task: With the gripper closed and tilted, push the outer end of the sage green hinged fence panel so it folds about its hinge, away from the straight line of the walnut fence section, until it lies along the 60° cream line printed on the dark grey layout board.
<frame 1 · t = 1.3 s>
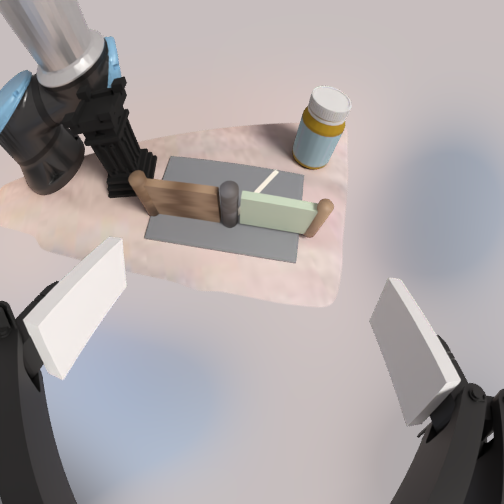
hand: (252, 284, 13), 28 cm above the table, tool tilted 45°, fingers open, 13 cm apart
walnut fence section: (230, 221, 44), resting on layout board
layout board: (227, 204, 45), on the table
fence panel: (283, 213, 38), point 6 cm above the table, hinge at 0.0°
chess piece: (133, 177, 46), on the table
bottle: (309, 156, 49), on the table
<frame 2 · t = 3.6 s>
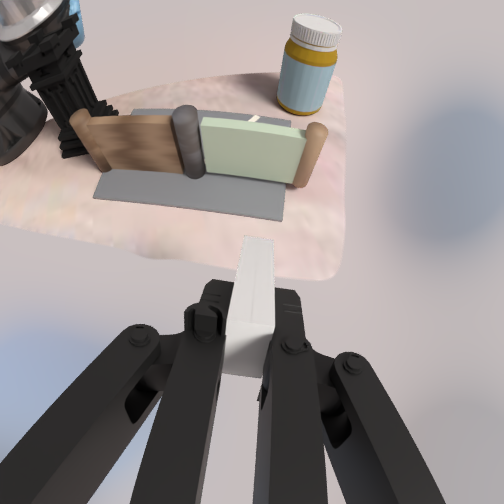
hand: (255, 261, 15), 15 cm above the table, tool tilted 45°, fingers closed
walnut fence section: (196, 173, 33), resting on layout board
layout board: (194, 153, 34), on the table
fence panel: (260, 150, 27), point 6 cm above the table, hinge at 0.0°
chess piece: (91, 135, 35), on the table
bottle: (298, 103, 38), on the table
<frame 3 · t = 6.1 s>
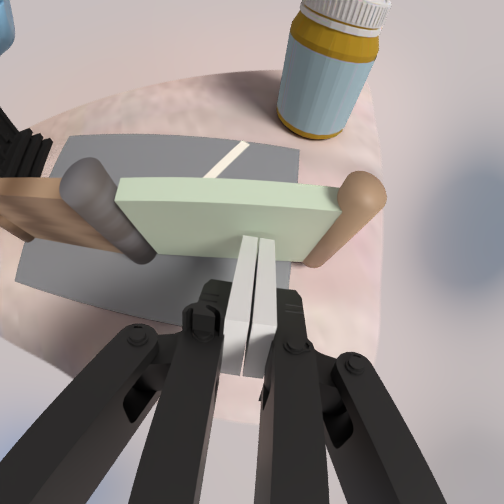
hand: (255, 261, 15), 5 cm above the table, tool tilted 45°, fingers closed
walnut fence section: (144, 250, 20), resting on layout board
layout board: (142, 213, 21), on the table
fence panel: (245, 224, 15), point 6 cm above the table, hinge at 5.4°, touching gripper
chess piece: (20, 177, 22), on the table
bottle: (309, 118, 25), on the table
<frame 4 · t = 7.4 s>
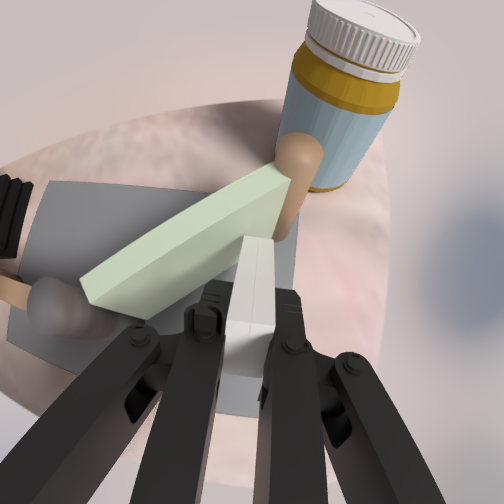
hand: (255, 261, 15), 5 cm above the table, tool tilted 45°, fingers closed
walnut fence section: (132, 325, 18), resting on layout board
layout board: (127, 283, 19), on the table
fence panel: (209, 243, 14), point 6 cm above the table, hinge at 42.4°, touching gripper
chess piece: (3, 223, 20), on the table
bottle: (312, 163, 24), on the table
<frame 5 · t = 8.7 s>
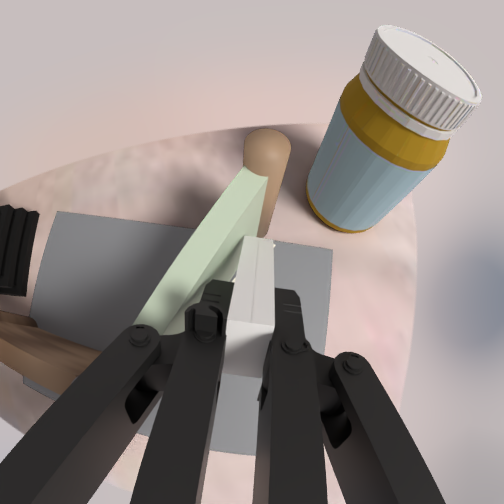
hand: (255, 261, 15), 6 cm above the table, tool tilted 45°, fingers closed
walnut fence section: (162, 375, 17), resting on layout board
layout board: (155, 332, 18), on the table
fence panel: (210, 267, 14), point 6 cm above the table, hinge at 67.0°, touching gripper
chess piece: (8, 255, 19), on the table
bottle: (342, 199, 23), on the table
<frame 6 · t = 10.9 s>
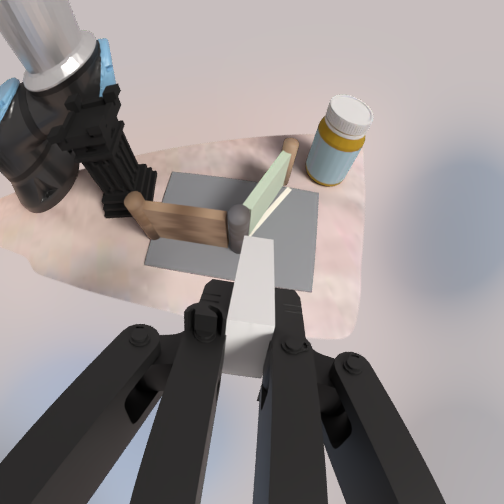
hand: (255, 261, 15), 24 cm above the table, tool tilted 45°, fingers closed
walnut fence section: (238, 246, 40), resting on layout board
layout board: (235, 226, 41), on the table
fence panel: (269, 187, 37), point 6 cm above the table, hinge at 67.2°
chess piece: (131, 195, 42), on the table
bottle: (324, 171, 45), on the table
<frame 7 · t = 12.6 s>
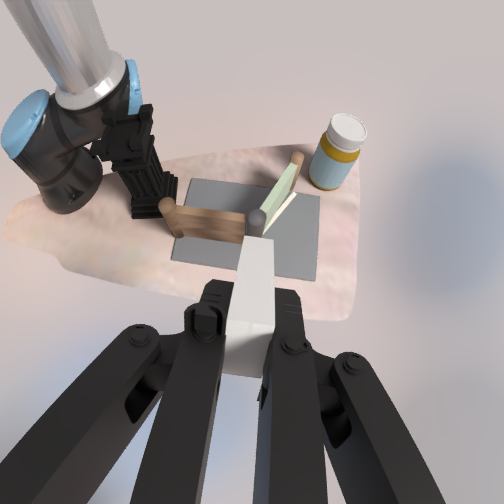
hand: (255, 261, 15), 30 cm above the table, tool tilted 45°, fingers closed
walnut fence section: (253, 243, 47), resting on layout board
layout board: (249, 226, 48), on the table
fence panel: (279, 193, 44), point 6 cm above the table, hinge at 67.2°
chess piece: (155, 199, 49), on the table
bottle: (324, 177, 52), on the table
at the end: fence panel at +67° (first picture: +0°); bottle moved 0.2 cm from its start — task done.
